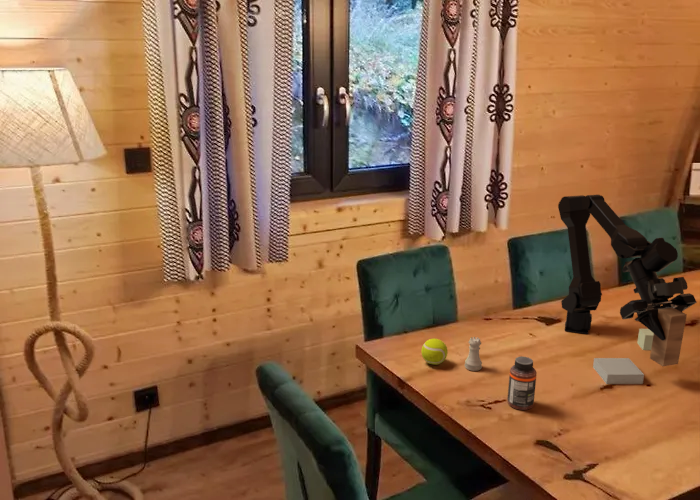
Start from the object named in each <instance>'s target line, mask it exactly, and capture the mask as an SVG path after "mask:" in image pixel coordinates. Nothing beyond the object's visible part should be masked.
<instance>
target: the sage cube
mask: <svg viewBox="0 0 700 500" xmlns="http://www.w3.org/2000/svg"><path fill="white" fill-rule="evenodd" d="M653 335H654V333H653V332H652V331H651V330H649V329H648V328H638V337H637V342H636V343H637V345H638V346H639V348H640V349H641V350H642V351H651V348H652V342H653Z"/></svg>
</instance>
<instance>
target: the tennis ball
mask: <svg viewBox="0 0 700 500" xmlns="http://www.w3.org/2000/svg"><path fill="white" fill-rule="evenodd" d="M448 353H449V352H448V347H447V345H446V343H445V342H444V341H443V340H441V339H438V338H430V339H427V340H426V341H425V342H424V343H423V345H422V347H421V356H422V358H423V359H424V361H425V362H426V363H428V364H429V365H433V366H434V365H436V366H437V365H440V364H442V363H443V362H444V361H446V359H447V356H448Z"/></svg>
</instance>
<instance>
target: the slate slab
mask: <svg viewBox="0 0 700 500" xmlns="http://www.w3.org/2000/svg"><path fill="white" fill-rule="evenodd" d="M592 365H593V366H592V368H593V369H594V371H596V373H597V375H599V377H600V378H601V379H602V381H603V382H604V383H605V385H643V384H644V378H645V374H644V373H643V372H642V370H641V369H639V367H638V366H637V365H636V364H635V363H634V362H633V361H632V360H631V359H630V358H629V357H594V358H593V364H592Z"/></svg>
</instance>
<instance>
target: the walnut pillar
mask: <svg viewBox="0 0 700 500" xmlns="http://www.w3.org/2000/svg"><path fill="white" fill-rule="evenodd" d="M658 319H659V322H660V324H661V326H662V329H663V331H664V334H665V337H666V339H665V340H663V341H662V340H661V339H660V338H659V337H657V336H656V335H655V334H654V335H653V342H652V348H651V350H650V355H649V359H650V360H652V361H653V362H655V363H657V364H658V365H660V366H662V367H668V366H674V365H675V366H676V365H679V362H680V361H679V360H680V355H681V350H682V344H683V338H684V332H685V327H686V323H687V321H686V320H687V313H684V311H683V312H681V311H679V310H677V309H675V308H666V309H658Z"/></svg>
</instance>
